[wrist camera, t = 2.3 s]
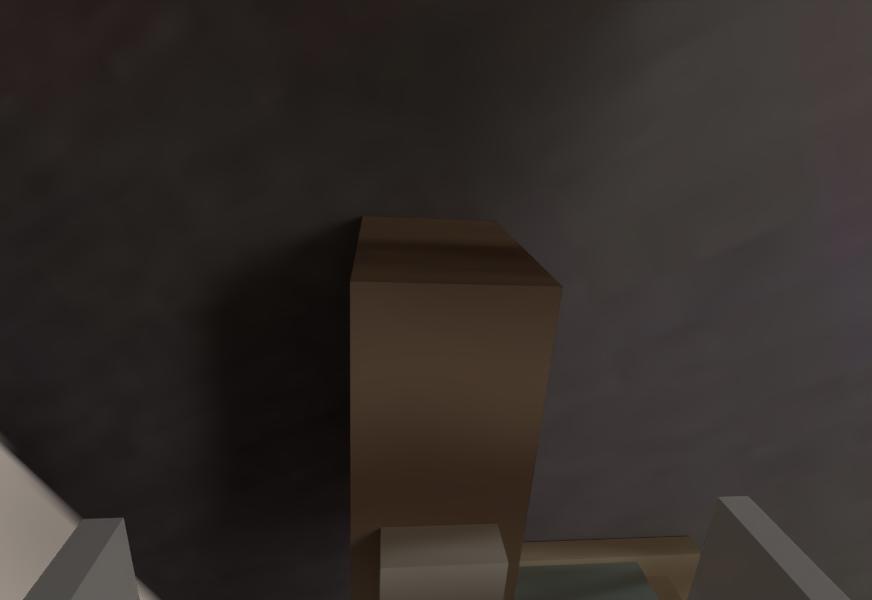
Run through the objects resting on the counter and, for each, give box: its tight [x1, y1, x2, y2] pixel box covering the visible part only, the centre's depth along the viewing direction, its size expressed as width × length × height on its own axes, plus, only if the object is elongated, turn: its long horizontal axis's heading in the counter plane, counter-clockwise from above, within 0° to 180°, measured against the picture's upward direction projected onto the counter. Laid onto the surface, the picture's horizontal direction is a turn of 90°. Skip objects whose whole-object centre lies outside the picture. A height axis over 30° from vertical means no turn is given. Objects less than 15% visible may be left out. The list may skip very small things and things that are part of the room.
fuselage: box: [350, 216, 563, 600], centre depth 15 cm, size 11×4×8 cm, turn 177°
